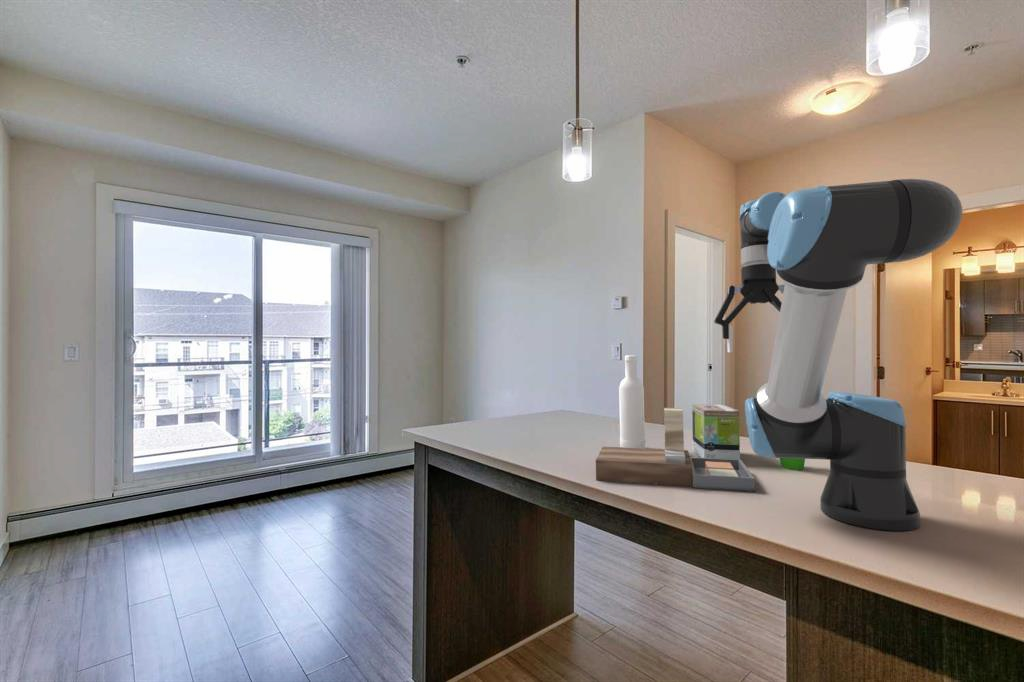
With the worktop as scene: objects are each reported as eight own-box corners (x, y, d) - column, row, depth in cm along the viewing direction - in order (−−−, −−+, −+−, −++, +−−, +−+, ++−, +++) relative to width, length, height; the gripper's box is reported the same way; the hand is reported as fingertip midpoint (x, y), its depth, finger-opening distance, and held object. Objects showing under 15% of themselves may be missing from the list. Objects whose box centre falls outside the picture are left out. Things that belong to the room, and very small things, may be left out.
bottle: (627, 445, 157) (625, 355, 157) (649, 448, 152) (647, 355, 152) (615, 449, 151) (613, 355, 151) (638, 452, 146) (636, 355, 146)
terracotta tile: (707, 467, 118) (707, 475, 118) (733, 468, 116) (733, 476, 116) (705, 461, 123) (705, 468, 123) (730, 462, 121) (730, 470, 121)
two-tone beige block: (685, 464, 111) (684, 413, 111) (665, 463, 112) (664, 413, 112) (682, 450, 126) (681, 405, 126) (664, 449, 127) (663, 405, 127)
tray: (755, 491, 106) (754, 478, 106) (693, 487, 109) (692, 474, 109) (741, 471, 123) (741, 459, 123) (688, 468, 127) (687, 457, 127)
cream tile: (710, 475, 110) (710, 483, 110) (738, 476, 109) (738, 485, 109) (708, 468, 116) (708, 476, 116) (734, 470, 114) (734, 478, 114)
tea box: (741, 463, 131) (740, 410, 131) (703, 462, 133) (702, 409, 133) (725, 451, 146) (724, 403, 146) (691, 450, 148) (690, 403, 148)
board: (692, 486, 110) (692, 465, 110) (596, 480, 117) (595, 459, 117) (688, 469, 126) (687, 450, 126) (603, 464, 132) (602, 446, 132)
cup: (801, 463, 130) (800, 423, 130) (819, 472, 121) (818, 429, 121) (767, 463, 130) (766, 423, 131) (782, 471, 121) (781, 429, 122)
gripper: (809, 265, 116) (812, 351, 115) (701, 270, 122) (703, 352, 121) (821, 259, 109) (824, 351, 108) (706, 265, 115) (708, 352, 114)
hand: (760, 352), depth 115 cm, fingers open, 13 cm apart
